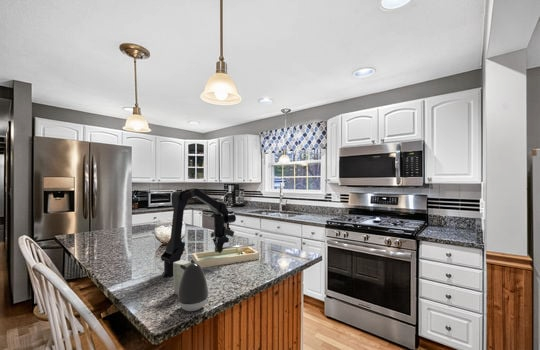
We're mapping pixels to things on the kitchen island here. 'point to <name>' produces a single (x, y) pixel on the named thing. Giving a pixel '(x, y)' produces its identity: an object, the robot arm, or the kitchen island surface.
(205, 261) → the tray
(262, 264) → the kitchen island surface
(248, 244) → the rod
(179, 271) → the skincare box
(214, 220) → the robot arm
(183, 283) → the pump dispenser
